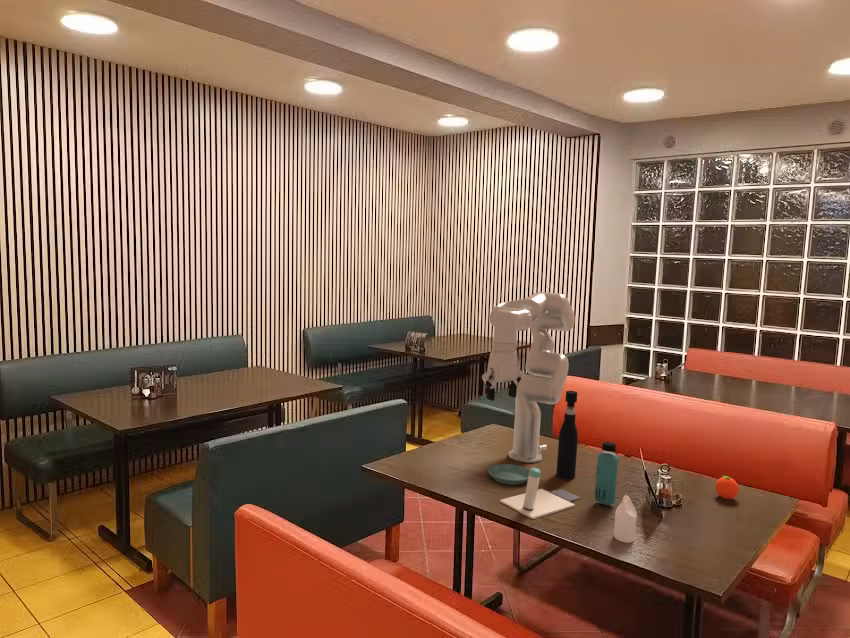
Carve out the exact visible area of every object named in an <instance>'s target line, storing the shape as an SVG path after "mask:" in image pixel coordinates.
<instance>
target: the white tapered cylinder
mask: <svg viewBox="0 0 850 638" xmlns="http://www.w3.org/2000/svg"><path fill="white" fill-rule="evenodd" d="M637 514H638V513H637V510H636V508H635V506H634V504H633V502H632V500H631V498H630V496H628V495H626V494H625V495H624V496H623V497H622V500H621V502H620V503H619V505H618V506H617V508H616V510H615V513H614V527H613V528H614V530H613V535H614V536H613V537H614V539H616V540H617V541H619V542H621V543H624V544H626V543H627V544H628V543H633V542H635V539H636V529H637V516H638V515H637Z"/></svg>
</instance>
